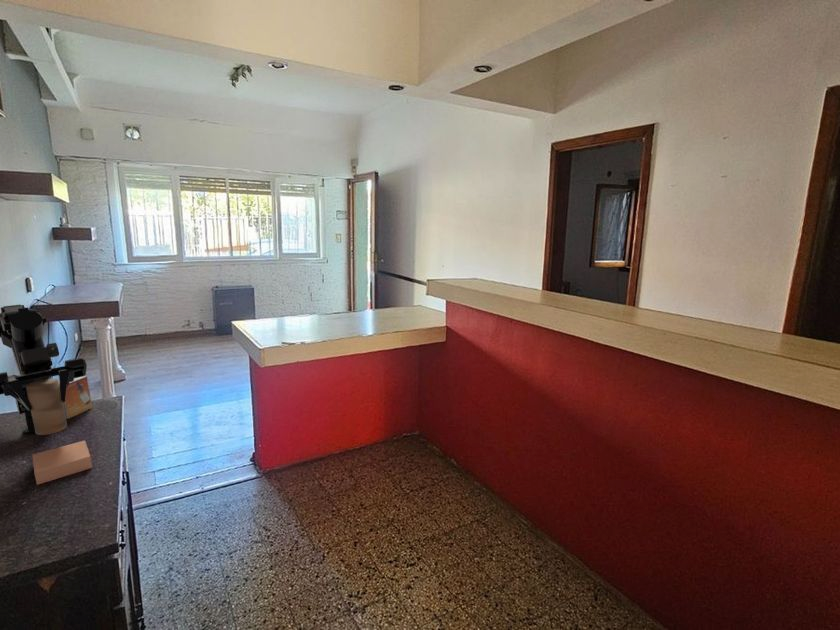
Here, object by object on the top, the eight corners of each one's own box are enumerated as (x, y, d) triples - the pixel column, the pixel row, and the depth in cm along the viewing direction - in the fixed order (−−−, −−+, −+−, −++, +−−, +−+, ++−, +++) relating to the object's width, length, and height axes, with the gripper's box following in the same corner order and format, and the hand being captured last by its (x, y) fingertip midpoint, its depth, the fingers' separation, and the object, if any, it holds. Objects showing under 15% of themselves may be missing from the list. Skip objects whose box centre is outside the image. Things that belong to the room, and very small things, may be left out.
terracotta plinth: (34, 466, 104) (32, 454, 103) (86, 451, 111) (84, 440, 110) (37, 484, 97) (34, 472, 96) (92, 467, 103) (90, 456, 103)
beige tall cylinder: (45, 424, 110) (36, 379, 107) (72, 422, 111) (63, 377, 108) (29, 436, 104) (19, 388, 101) (57, 433, 105) (48, 387, 102)
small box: (67, 419, 127) (61, 386, 125) (52, 417, 128) (45, 384, 126) (93, 408, 135) (87, 376, 132) (78, 406, 136) (72, 374, 133)
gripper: (-25, 342, 98) (-10, 402, 93) (78, 327, 111) (96, 378, 106) (-20, 367, 105) (-5, 424, 100) (76, 350, 118) (93, 399, 113)
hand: (47, 405), depth 105 cm, fingers closed on beige tall cylinder, 6 cm apart
